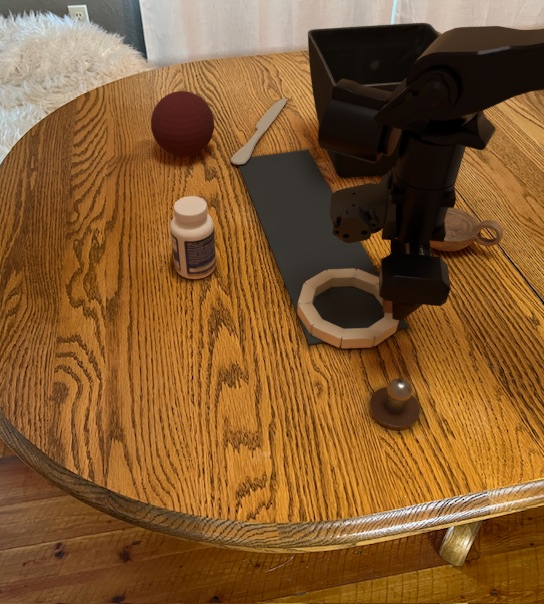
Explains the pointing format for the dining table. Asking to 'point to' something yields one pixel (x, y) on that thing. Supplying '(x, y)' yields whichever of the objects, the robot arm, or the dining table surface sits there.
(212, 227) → the pill bottle
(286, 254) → the rubber mat
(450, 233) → the oil lamp
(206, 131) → the decorative ball
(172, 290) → the dining table surface
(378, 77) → the flower pot
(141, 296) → the dining table surface
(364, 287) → the ivory ring
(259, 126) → the butter knife
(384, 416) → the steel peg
